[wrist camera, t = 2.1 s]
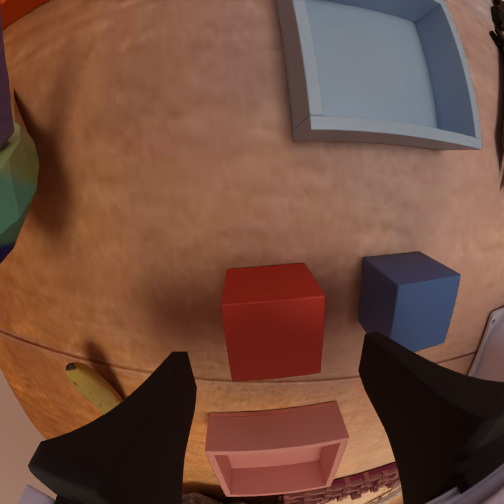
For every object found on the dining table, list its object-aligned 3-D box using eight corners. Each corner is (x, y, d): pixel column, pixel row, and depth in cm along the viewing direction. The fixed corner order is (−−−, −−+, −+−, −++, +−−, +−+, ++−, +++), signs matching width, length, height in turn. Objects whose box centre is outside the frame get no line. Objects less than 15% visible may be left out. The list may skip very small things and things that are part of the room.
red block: (304, 328, 16) (320, 373, 12) (234, 334, 16) (232, 381, 12) (304, 262, 15) (325, 295, 11) (226, 268, 15) (220, 304, 11)
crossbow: (415, 463, 25) (420, 471, 23) (441, 460, 28) (445, 467, 26) (342, 509, 28) (345, 517, 26) (379, 503, 31) (382, 509, 29)
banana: (80, 336, 16) (54, 366, 13) (105, 338, 17) (80, 372, 13) (119, 421, 19) (107, 452, 15) (142, 425, 19) (131, 458, 15)
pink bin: (323, 457, 21) (330, 486, 18) (226, 466, 21) (225, 496, 18) (336, 400, 19) (349, 437, 15) (209, 412, 19) (204, 451, 15)
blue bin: (441, 150, 13) (482, 149, 10) (293, 141, 13) (311, 129, 10) (415, 20, 11) (444, 0, 7) (275, -5, 10) (282, -42, 7)
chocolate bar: (278, 489, 23) (279, 501, 21) (413, 455, 23) (418, 464, 22) (278, 504, 25) (279, 514, 24) (398, 475, 25) (401, 484, 24)
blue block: (411, 310, 16) (444, 343, 12) (357, 320, 16) (384, 360, 12) (419, 251, 15) (461, 274, 11) (362, 257, 15) (398, 285, 11)
